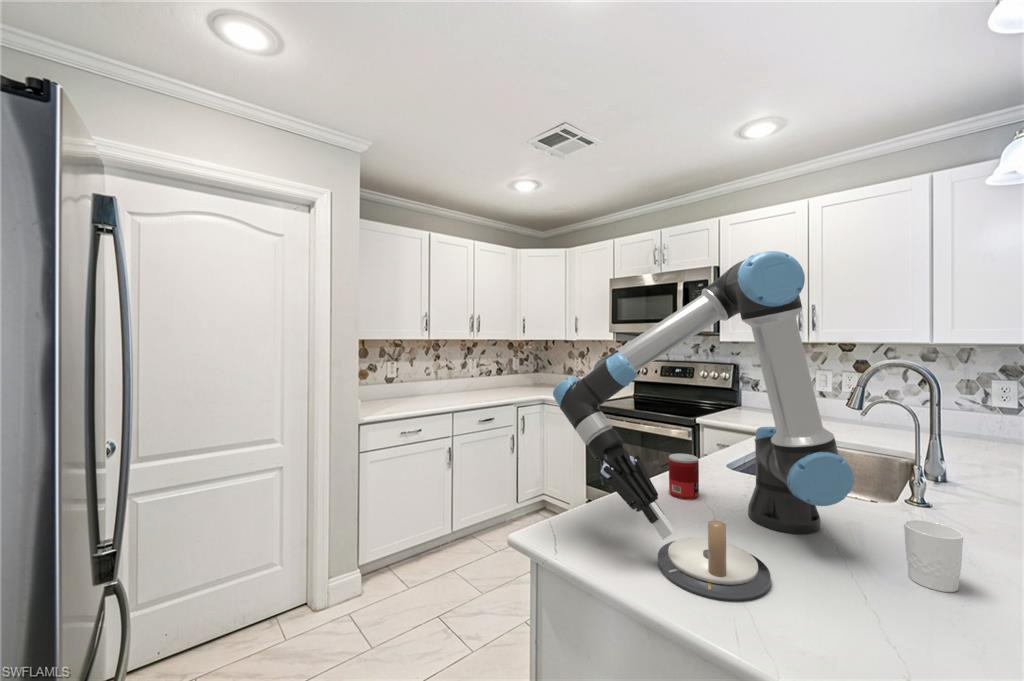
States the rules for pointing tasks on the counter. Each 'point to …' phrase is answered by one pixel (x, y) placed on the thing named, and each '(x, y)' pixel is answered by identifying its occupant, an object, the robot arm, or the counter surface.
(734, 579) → the dial
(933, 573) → the white cup
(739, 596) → the dial base
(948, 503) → the counter surface
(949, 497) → the counter surface
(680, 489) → the canned food
